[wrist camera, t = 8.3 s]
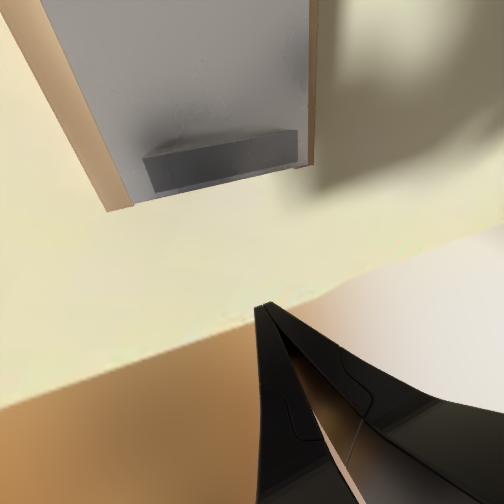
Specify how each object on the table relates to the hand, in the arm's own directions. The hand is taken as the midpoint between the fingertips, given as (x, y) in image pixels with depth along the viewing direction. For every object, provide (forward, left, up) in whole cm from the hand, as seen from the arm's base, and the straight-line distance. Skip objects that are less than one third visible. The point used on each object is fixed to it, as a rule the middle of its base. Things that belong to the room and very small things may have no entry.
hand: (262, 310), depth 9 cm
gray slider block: (0, -8, -5) cm, 10 cm away
